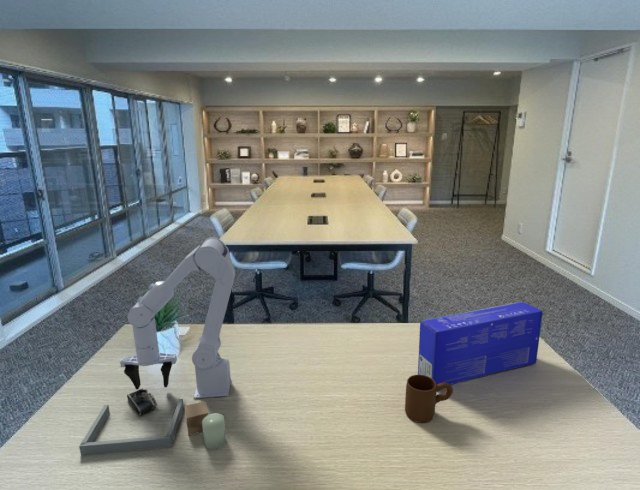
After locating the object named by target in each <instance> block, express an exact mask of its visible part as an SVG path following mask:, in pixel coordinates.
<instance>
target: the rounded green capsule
mask: <svg viewBox="0 0 640 490" xmlns="http://www.w3.org/2000/svg"><path fill="white" fill-rule="evenodd" d="M225 423H226V422H225V417H224V415H223V414H221V413H218V412H217V413H211V414H208V416H206V417H205V418H204V419H203V421H202V426H203V432H202V434H203V444H204V448H206V449H208V450H212V451H213V450H214V451H215V450H218V449H221V448H222V447H223V446H224V445H225V444H226V441H227V437H226V427H225V426H226V425H225Z"/></svg>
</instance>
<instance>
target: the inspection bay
mask: <svg viewBox="0 0 640 490" xmlns="http://www.w3.org/2000/svg"><path fill="white" fill-rule="evenodd" d="M184 409H185V404H184V398H179V400H178V401H177V404H176V408H175V411H174V413H173V417H172V418H171V422H170V425H169V427H168V431H167V434H166V435H158V436H157V435H156V436H145V437H135V438H134V437H133V438H125V439H113V440H101V441H95V439H96V438H97V436H98V434H99V432H100V430H101V429H102V427H103V426H104V424H105V422H106V420H107V419H108V417H109V415H110V413H111V412H110V407H109V404H105V405H103V407H102V408H101V410H100V412H99V414H98V415H97V417H95V420H94V421H93V422H92V424H91V427H90V428H89V429H88V431H87V433H86V435H85V436H84V438H83V439H82V441H81V443H80V444H79V446H78V448H79V453H80V456H89V455H100V454H109V453H121V452H132V451H143V450H144V451H145V450H154V449H155V450H156V449H165V448H172V446H173V443H174V440H175V437H176V433H177V431H178V426H179V424H180V420H181V418H182V414H183V413H184V412H183V411H184Z"/></svg>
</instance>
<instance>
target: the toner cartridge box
mask: <svg viewBox="0 0 640 490" xmlns="http://www.w3.org/2000/svg"><path fill="white" fill-rule="evenodd" d="M543 314H544V311H543V310H542V309H539V308H538V307H535V306H533V305H530V304H529V303H527V302H524V301H518V302H513V303H512V302H511V303H508V304H503V305H497V306H493V307H487V308H482V309H475V310H471V311H465V312H460V313H456V314H449V315H445V316H439V317H435V318H429V319H423V320H419V338H418V340H419V341H418V342H419V343H418V344H419V345H418V361H417V362H418V363H417V364H418V365H417V375H425V376H428V377H430V378H432V379H433V380H434V381H435V382H436V385H437V384H440V383H443V382H444V383H448V384H450V385H451V386H452V385H454V384H458V383H462V382H467V381H469V380H474V379H478V378H482V377H486V376H489V375H494V374H498V373H501V372H505V371H509V370H513V369H517V368H522V367H526V366H529V365H533V364H534V365H535V364H536V363H537V361H538V352H539V351H538V350H539V346H540V345H539V344H540V337H541V331H542V329H541V328H542V322H543Z"/></svg>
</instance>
